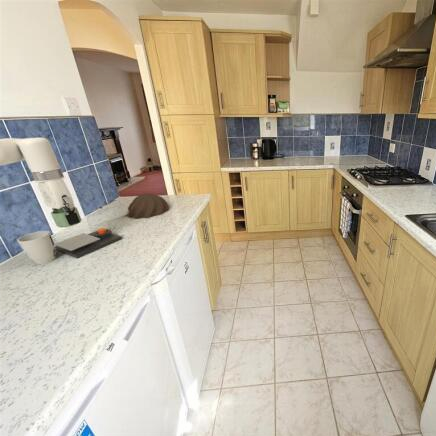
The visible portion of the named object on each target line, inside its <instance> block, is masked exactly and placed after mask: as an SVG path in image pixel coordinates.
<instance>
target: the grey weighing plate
mask: <svg viewBox="0 0 436 436" xmlns="http://www.w3.org/2000/svg"><path fill="white" fill-rule="evenodd" d="M88 234H89V233H86V232H83V233H80V234H77V235H75V236H72V237H68V238H65V239H64V240H61V241H58V242H54V246H58V247H61V248H63V249H66V250H68V251H72V250H74V249H77V248H79V247H82V246H84V245H87V244H89V243H92V242H94V241H97V240H99V239H100V238H97V237H94V236H91V235H88Z"/></svg>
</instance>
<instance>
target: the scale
mask: <svg viewBox="0 0 436 436" xmlns="http://www.w3.org/2000/svg"><path fill="white" fill-rule="evenodd" d="M106 231H107V232H106V233H104V234H98V232H97V230H96V231H93V232H91V233H87V234H88V235H91V236H94V237H97V238H100V239H99V240H97V241H94V242H92V243H89V244H87V245H84V246H82V247H79V248H77V249H74V250H72V251H68V250H66V249H63V248H61V247H58V246H56V245H54V246H55V250H56V251H59V252H60V253H63V254H66V255H68V256H71V257H73V258H75V259H80V258H82V257H85V256H88V255H90V254H92V253H94V252H97V251H98V250H101V249H103V248H105V247H108V246H111V245H112V244H115V243H118V242H119V241H121V240H123V238H122V236H121V235H118V234H115V233H113V232H112V229H109V228H106Z"/></svg>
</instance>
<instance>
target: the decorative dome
mask: <svg viewBox="0 0 436 436" xmlns="http://www.w3.org/2000/svg"><path fill="white" fill-rule="evenodd" d="M169 210H170V207H169V204H168V202H167V200H166V199H164V198H163V197H162V196H160V195H158V194H155V193H151V192H150V193H149V192H147V193H142V194H140V195H137V196H136V197H134V198H133V199H132V201H131V202H130V204H129V205H128V206H127V211H128V218H133V219H134V220H138V219H150V218H152V217H156V216H162V215H163V214H164V213H166V212H168V211H169Z"/></svg>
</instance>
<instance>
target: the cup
mask: <svg viewBox="0 0 436 436" xmlns="http://www.w3.org/2000/svg"><path fill="white" fill-rule="evenodd" d="M17 243H18V244H19V246H20V247H21V249H22V250H23V252H24V253H25V254H26V255H27V256H28V257H29V258H30V260H32V261H33V262H34V263H36V264H37V265H43V264H44V265H45V264H48V263H50V262H52V261H54V260H55V259H56V258H57V254H56V253H57V250H56V248H55V246H56V245H54V244H55V242H54V239H53V236H52V234H51V232H50V230H39V231H34V232H29V233H27V234H25V235H22V236H20V237H19V238H17Z"/></svg>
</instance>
